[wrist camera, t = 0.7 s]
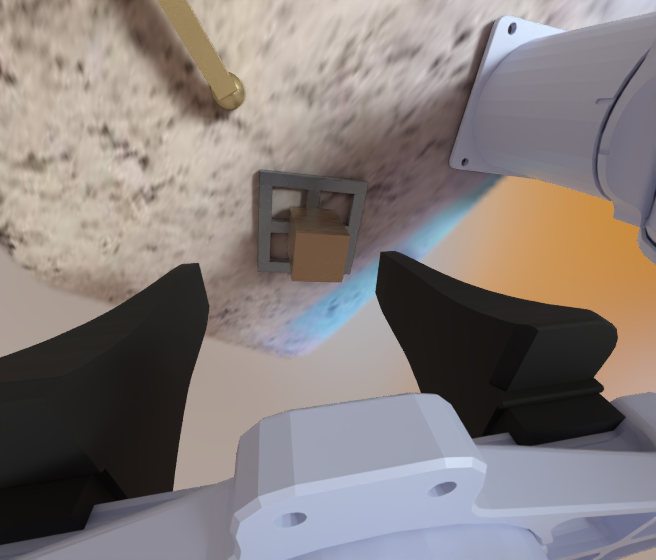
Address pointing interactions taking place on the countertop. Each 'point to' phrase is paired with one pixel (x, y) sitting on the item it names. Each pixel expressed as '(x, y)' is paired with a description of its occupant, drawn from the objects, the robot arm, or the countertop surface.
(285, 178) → the grey window frame
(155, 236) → the countertop surface
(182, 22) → the brass bent rod
